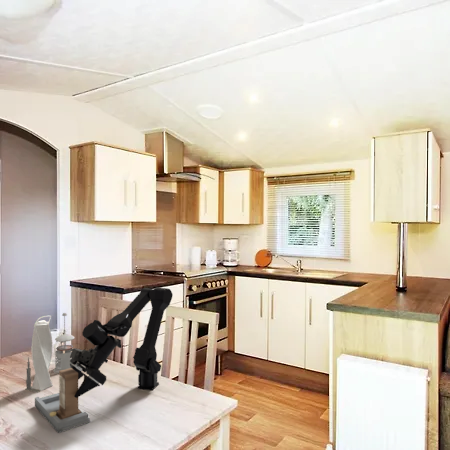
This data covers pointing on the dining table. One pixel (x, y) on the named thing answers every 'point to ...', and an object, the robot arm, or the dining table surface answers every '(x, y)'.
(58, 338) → the french press
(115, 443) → the dining table surface
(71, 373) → the wooden block
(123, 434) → the dining table surface
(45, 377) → the skyscraper
